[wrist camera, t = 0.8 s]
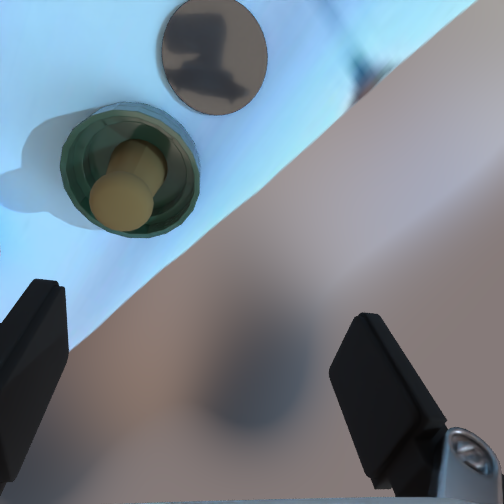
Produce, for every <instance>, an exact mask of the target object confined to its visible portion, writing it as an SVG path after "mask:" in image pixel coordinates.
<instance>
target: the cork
mask: <svg viewBox="0 0 504 504" xmlns="http://www.w3.org/2000/svg"><path fill="white" fill-rule="evenodd" d="M167 172H168V168H167V162H166V159H165V157H164V155H163V153H162V152H161V151H160V150H159V149H158V148H157V147H156V146H154V145H153V144H151V143H150V142H148V141H144V140H141V139H129V140H126V141H124V142H121V143H120V144H119V145H118V146H117V147H115V149H114V151H113V153H112V154H111V157H110V161H109V165H108V168H107V172H106V175H103V176H102V177H101V178H99V179H98V180H97V181H96V182H95V183H94V185H93V187H92V189H91V191H90V198H89V204H90V208H91V212H92V213H93V215H94V216H95V218H96V219H97V220H98V221H99V222H100V223H102V224H103V225H104V226H106V227H108V228H110V229H112V230H116V231H121V232H122V231H132V230H135V229H138V228H140V227H141V226H142V225H143V224H145V223H146V222H147V221H148V219H149V218H150V216H151V214H152V210H153V205H154V202H153V197H154V195H155V194H156V192H157V191H158V190H159V188H160V187H161V186H162V184H163V182H164V181H165V179H166V176H167Z"/></svg>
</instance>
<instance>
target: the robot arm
mask: <svg viewBox="0 0 504 504" xmlns="http://www.w3.org/2000/svg"><path fill="white" fill-rule="evenodd" d="M68 354H69V347H68V330H67V313H66V296H65V288H64V287H62V286H59V284H58V282H57V281H53V280H43V279H34V280H33V281H32V282H31V283H30V285H29V286H28V288H27V289H26V290H25V292H24V293H23V294H22V296H21V297H20V298H19V300H18V301H17V303H16V304H15V305H14V307H13V308H12V309H11V311H10V312H9V313H8V315H7V316H6V318H5V319H4V320H3V322H2V323H0V496H1V493H2V491H3V489H4V487H5V485H6V482H13V481H14V480H15V478H16V477H17V475H18V473H19V470H20V468H21V466H22V464H23V461H24V459H25V456H26V454H27V452H28V450H29V447H30V445H31V443H32V440H33V438H34V436H35V434H36V432H37V429H38V427H39V425H40V422H41V420H42V418H43V415H44V413H45V411H46V409H47V406H48V404H49V401H50V399H51V397H52V395H53V393H54V390H55V388H56V386H57V383H58V381H59V379H60V377H61V374H62V372H63V370H64V367H65V365H66V363H67V359H68ZM329 377H330V381H331V383H332V386H333V389H334V391H335V394H336V397H337V399H338V402H339V405H340V407H341V410H342V413H343V415H344V418H345V421H346V424H347V426H348V429H349V432H350V434H351V437H352V440H353V442H354V445H355V448H356V450H357V453H358V456H359V459H360V461H361V464H362V467H363V469H364V472H365V474H366V475H367V476H368V477H369V478H371V480H372V483H373V486H374V489H391V488H393V490H394V493H395V495H396V496H395V497H366V498H365V497H364V498H314V499H313V498H311V499H269V500H230V501H192V502H160V503H129V504H504V475H503V474H502V472H501V466H500V463H499V460H498V459H497V456H496V454H495V453H494V452H493V451H492V449H491V448H490V447H489V446H488V445H487V444H486V443H485V442H484V441H483V440H482V439H481V438H479V437H478V436H477V435H475V434H474V433H472V432H470V431H468V430H466V429H463V428H459V427H454V428H450V429H449V430H448V429H447V427H446V426H445V422H446V421H447V419H446V418H445V416H444V415H443V413H442V411H441V410H440V408H439V407H438V405H437V404H436V402H435V401H434V399H433V397H432V396H431V394H430V393H429V391H428V390H427V388H426V387H425V385H424V383H423V382H422V380H421V379H420V377H419V376H418V374H417V373H416V371H415V369H414V368H413V366H412V365H411V363H410V362H409V360H408V359H407V357H406V356H405V354H404V352H403V351H402V349H401V348H400V346H399V345H398V343H397V341H396V340H395V338H394V337H393V335H392V334H391V332H390V331H389V329H388V327H387V326H386V325H385V323H384V321H383V320H382V318H381V317H380V316H379V315H378V314H373V313H360V314H359V315H358V316H356V317H354V319H353V321H352V323H351V325H350V327H349V329H348V331H347V333H346V335H345V337H344V340H343V341H342V344H341V346H340V348H339V350H338V352H337V354H336V356H335V358H334V360H333V362H332V364H331V366H330V369H329ZM126 504H128V503H126Z"/></svg>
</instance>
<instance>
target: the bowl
mask: <svg viewBox="0 0 504 504" xmlns="http://www.w3.org/2000/svg"><path fill="white" fill-rule="evenodd" d="M129 139H141V140H144V141H148V142H150V143H151V144H153V145H154V146H156V147H157V148H158V149H159V150H160V151H161V152H162V153H163V155H164V157H165V159H166V162H167V168H168V172H167V176H166V179H165V181H164V182H163V184H162V186H161V187H160V188H159V190H158V191H157V192H156V194H155V195H154V197H153V202H154V205H153V210H152V214H151V216H150V218H149V219H148V221H147V222H146V223H145V224H143V225H142V226H141V227H140V228H138V229H135V230H132V231H122V232H121V231H116V230H112V229H110V228H108V227H106V226H104V225H103V224H102V223H100V222H99V221H98V220H97V219H96V218H95V216H94V215H93V213H92V212H91V208H90V204H89V198H90V191H91V189H92V187H93V185H94V183H95V182H96V181H97V180H98V179H99V178H101V177H102V176H103V175H106V172H107V168H108V165H109V161H110V157H111V154H112V153H113V151H114V149H115V147H117V146H118V145H119V144H120V143H121V142H124V141H126V140H129ZM60 171H61V176H62V180H63V185H64V189H65V190H66V192H67V194H68V196H69V197H70V199H71V201H72V203H73V204H74V206H75V207H76V208H77V209H78V210H79V211H80V212H81V213H82V214H83V215H84V216H85V217H86V218H87V219H88V220H89V221H91V222H92V223H93V224H95V225H97V226H99V227H100V228H102V229H104V230H106V231H107V232H110V233H113V234H117V235H120V236H124V237H127V238H128V237H129V238H151V237H155V236H159V235H162V234H166V233H168V232H169V231H171V230H173V229H174V228H176V227H178V226H179V225H181V224H182V223H183V222H184V221H185V219H186V218H187V217H188V216H189V215H190V213H191V212H192V211H193V210H194V207H195V204H196V201H197V199H198V196H199V192H200V159H199V156H198V153H197V150H196V147H195V143H194V141H193V140H192V139H191V137H190V136H189V134H188V133H187V131H186V130H185V129H184V127H183V126H182V125H181V124H180V123H179V122H177V121H176V120H175V119H174V118H172V117H171V116H170V115H169V114H167V113H166V112H164V111H162V110H160V109H157V108H155V107H152V106H150V105H147V104H144V103H132V102H120V103H116V104H112V105H109V106H105V107H102V108H101V109H99V110H98V111H97V112H95V113H94V114H92V115H91V116H90V117H88V118H87V119H86V120H84V121H83V122H81V123H80V124H79V125H77V126H76V127H75V128H74V129H73V130H72V132H71V133H70V135H69V137H68V138H67V140H66V142H65V143H64V145H63V147H62V154H61V161H60Z"/></svg>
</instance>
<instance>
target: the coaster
mask: <svg viewBox="0 0 504 504" xmlns="http://www.w3.org/2000/svg"><path fill="white" fill-rule="evenodd" d="M267 58H268V55H267V46H266V41H265V38H264V35H263V32H262V30H261V27H260V25H259V24H258V22H257V20H256V19H255V17H254V16H253V15H252V14H251V12H250V11H249V10H248V9H247V8H245V7H244V6H243V5H242V4H240V3H239V2H237V1H235V0H189V1H187V2H186V3H184V4H183V5H182V6H181V7H180V8H179V9H178V10H177V11H176V12H175V13H174V15H173V16H172V17H171V19H170V21H169V23H168V25H167V27H166V30H165V33H164V37H163V42H162V61H163V67H164V71H165V74H166V77H167V79H168V81H169V83H170V85H171V87H172V89H173V90H174V92H175V93H176V94H177V95H178V97H179V98H180V99H181V100H182V101H183V102H184V103H186V104H187V105H188V106H190V107H191V108H193V109H195V110H197V111H199V112H202V113H205V114H209V115H225V114H230V113H233V112H236V111H238V110H240V109H241V108H243V107H244V106H246V105H247V104H248V103H249V102H250V101H251V100H252V99H253V98H254V97H255V96H256V94H257V93H258V91H259V89H260V88H261V86H262V83H263V81H264V78H265V74H266V70H267Z"/></svg>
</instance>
